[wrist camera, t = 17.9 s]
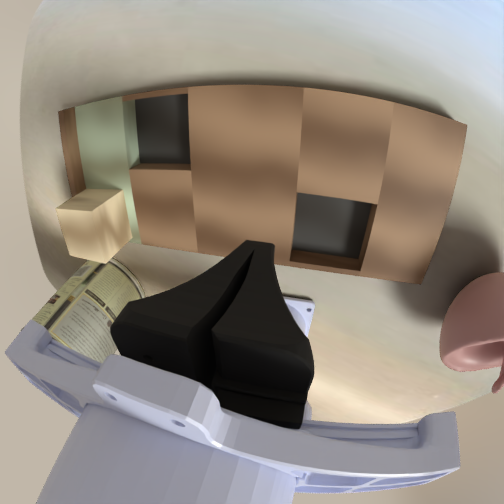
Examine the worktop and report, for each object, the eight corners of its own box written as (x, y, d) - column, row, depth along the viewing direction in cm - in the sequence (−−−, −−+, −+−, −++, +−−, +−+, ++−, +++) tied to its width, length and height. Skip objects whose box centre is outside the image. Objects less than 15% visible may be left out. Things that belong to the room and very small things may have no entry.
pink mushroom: (408, 321, 26) (424, 415, 17) (470, 230, 19) (529, 320, 10) (473, 339, 25) (494, 415, 16) (529, 267, 18) (573, 341, 9)
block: (132, 237, 25) (105, 263, 22) (96, 232, 26) (70, 255, 22) (123, 189, 23) (91, 211, 19) (86, 188, 23) (55, 208, 20)
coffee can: (129, 323, 37) (81, 398, 26) (79, 277, 35) (20, 343, 23) (160, 296, 32) (100, 390, 21) (98, 238, 29) (19, 317, 18)
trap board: (415, 270, 23) (424, 295, 20) (103, 227, 28) (84, 243, 25) (455, 121, 15) (477, 128, 12) (83, 104, 20) (58, 111, 18)
